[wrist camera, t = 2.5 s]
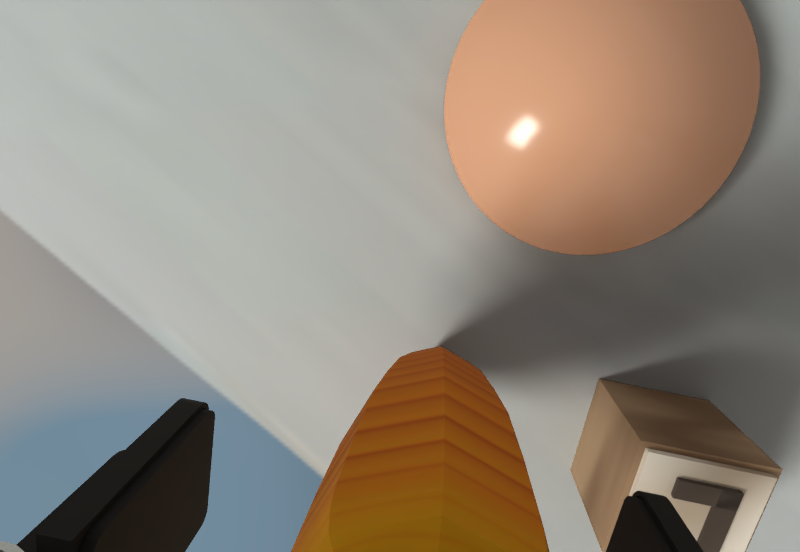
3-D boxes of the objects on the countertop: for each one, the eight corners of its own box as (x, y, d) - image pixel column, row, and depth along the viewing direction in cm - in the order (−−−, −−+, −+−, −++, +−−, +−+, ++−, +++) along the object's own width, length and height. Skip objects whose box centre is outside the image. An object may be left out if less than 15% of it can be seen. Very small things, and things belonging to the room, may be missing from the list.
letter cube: (708, 399, 17) (791, 478, 13) (673, 490, 18) (739, 590, 14) (598, 377, 17) (645, 447, 13) (570, 469, 19) (605, 560, 14)
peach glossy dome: (781, -24, 14) (812, -41, 13) (680, 270, 16) (698, 279, 15) (476, -71, 14) (479, -91, 13) (421, 221, 17) (419, 226, 15)
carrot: (379, 286, 17) (31, 940, 3) (514, 307, 17) (888, 1160, 3) (364, 405, 19) (72, 1274, 4) (490, 427, 18) (648, 1450, 4)
